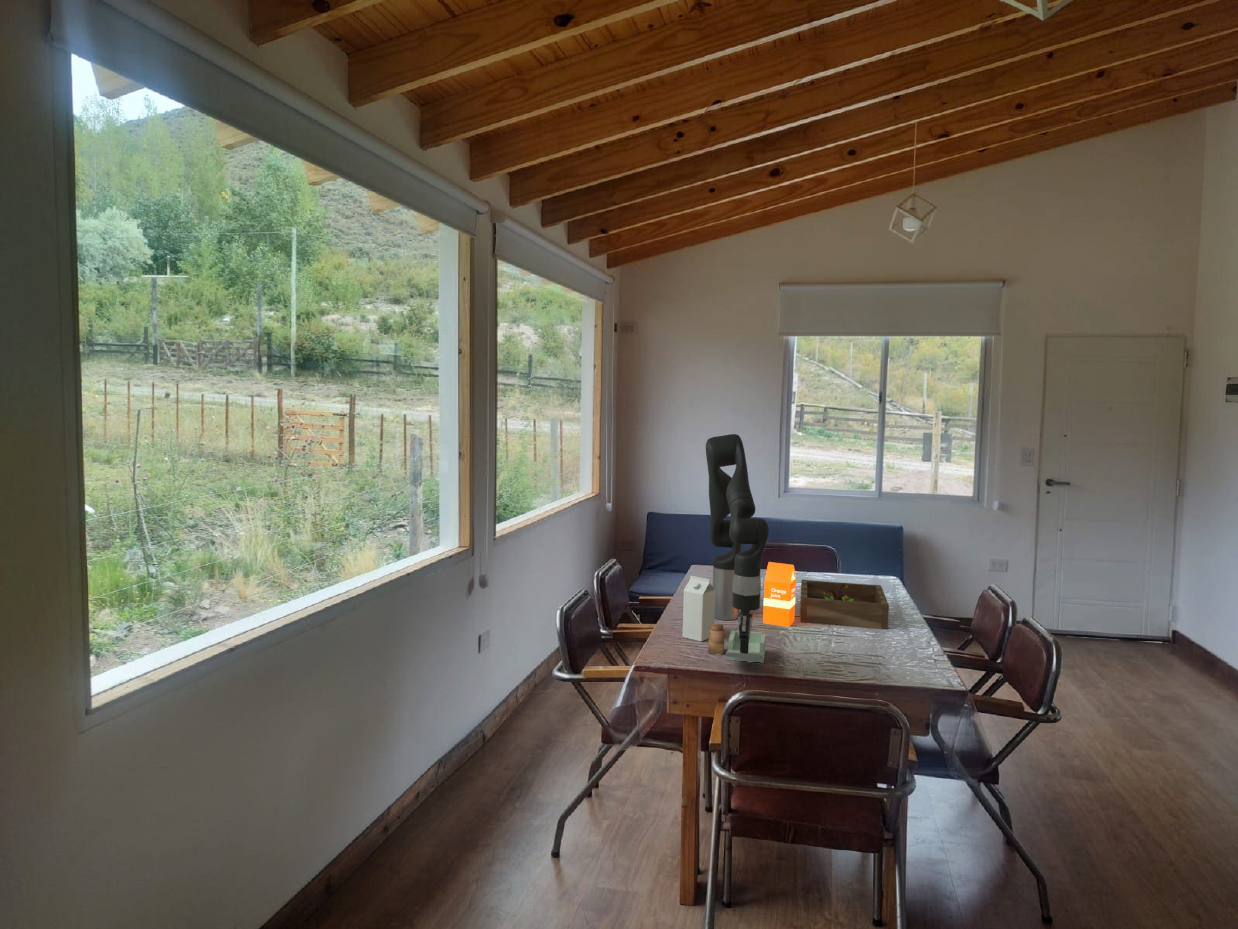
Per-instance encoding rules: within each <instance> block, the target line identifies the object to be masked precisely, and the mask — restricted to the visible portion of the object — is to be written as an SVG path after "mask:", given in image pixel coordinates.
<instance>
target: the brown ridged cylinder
mask: <svg viewBox="0 0 1238 929" xmlns="http://www.w3.org/2000/svg"><path fill="white" fill-rule="evenodd" d="M725 634H726V629H725V628H724V625H723V624H722V623H714V624H711V628H709V639H708V649H707V650H708V651H707V652H709V653H708V654H710V653H711V654H710V655H712V654H722V655H725V638H726V637H725Z"/></svg>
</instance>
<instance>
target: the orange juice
mask: <svg viewBox="0 0 1238 929" xmlns="http://www.w3.org/2000/svg"><path fill="white" fill-rule="evenodd" d="M796 577H797V576H796V571H795V566H794V564H788V563H780V562H774V561H773V562H772V561H768V564H767V567H766V572H765V577H764V585H763V586H764V588H763V589H764V591H763V611H762V616H763V617H762V624H767V625H774V626H779V627H785V628H786V627H787V628H789V627H790V626H792V624H793V623H794V622H795V613H796V612H795V611H796V609H795V608H796V593H797V592H796V591H797V587H796V586H797V578H796Z"/></svg>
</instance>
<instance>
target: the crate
mask: <svg viewBox="0 0 1238 929" xmlns="http://www.w3.org/2000/svg"><path fill="white" fill-rule="evenodd" d="M730 631H731V632H730V634H729V637H728V645H727V646H728V649H727V651H728V650H729V649H730V650H740V638H739V631H738V629H731V630H730ZM766 634H767V633H766V632H759V631H751V633H750V639H749V650H748V651H751V652H762V653H763V657H762V659H761V660H758V659H748V658H737V657H727V661H729V660H736V661H735V662H740V661H753V662H761V663H763V662H764V661H765V656H764V655H766ZM763 664H764V663H763Z"/></svg>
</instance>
